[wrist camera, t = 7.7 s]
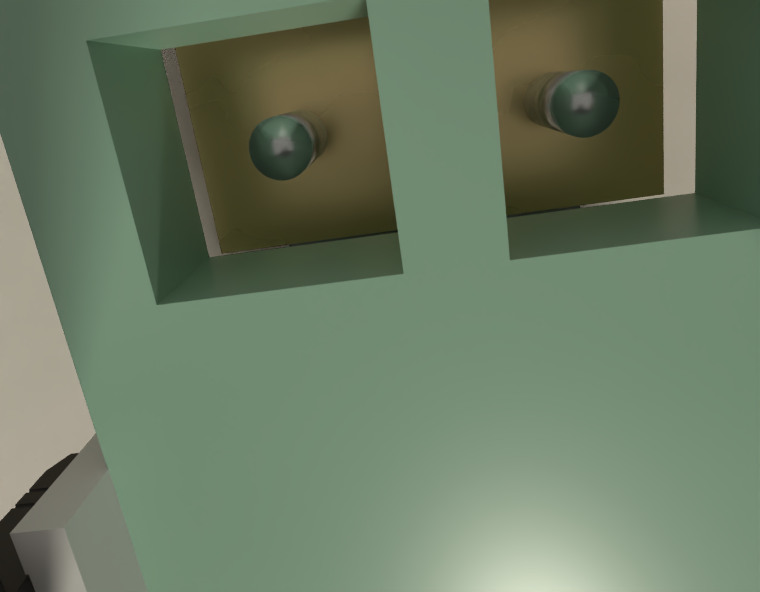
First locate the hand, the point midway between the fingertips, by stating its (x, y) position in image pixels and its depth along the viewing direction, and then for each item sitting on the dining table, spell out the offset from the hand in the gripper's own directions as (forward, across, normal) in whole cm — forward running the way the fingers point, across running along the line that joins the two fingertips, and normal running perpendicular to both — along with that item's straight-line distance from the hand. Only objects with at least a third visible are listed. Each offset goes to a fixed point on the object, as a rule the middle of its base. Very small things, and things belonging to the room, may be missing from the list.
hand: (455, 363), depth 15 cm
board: (-3, 0, 0) cm, 3 cm away
